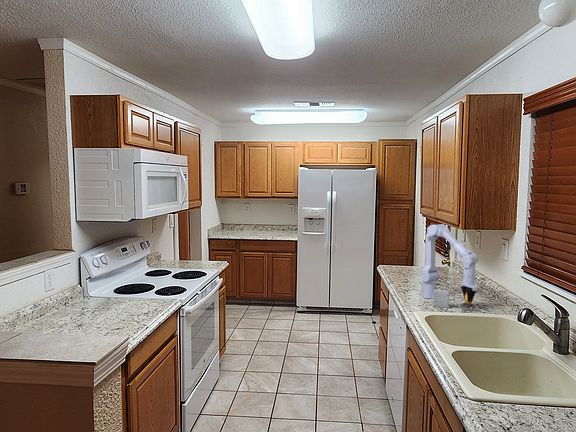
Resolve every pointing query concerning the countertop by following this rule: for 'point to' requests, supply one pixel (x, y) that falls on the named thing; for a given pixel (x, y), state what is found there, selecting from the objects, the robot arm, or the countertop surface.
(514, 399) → the countertop surface
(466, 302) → the wire nut cap
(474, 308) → the junction plate
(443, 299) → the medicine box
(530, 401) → the countertop surface
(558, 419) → the countertop surface
